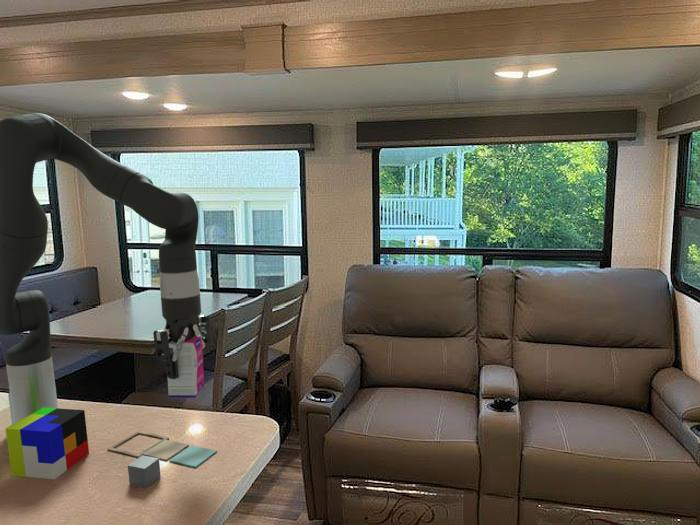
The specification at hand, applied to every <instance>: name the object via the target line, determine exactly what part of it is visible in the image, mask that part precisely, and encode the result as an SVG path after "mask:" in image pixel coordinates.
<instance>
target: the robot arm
mask: <svg viewBox="0 0 700 525" xmlns="http://www.w3.org/2000/svg"><path fill="white" fill-rule="evenodd" d="M51 159H53V160H57V161H60V162H62V163H66V164H68V165H70V166H72V167H74V168H75V169H77V170H78V171H79V172H81V173H82V175H83V176H84V177H85V179H86V180H87V181H88V183H90V184H91V186H92V187H93V188H95V190H97V191H98V192H99V193H101V194H102V195H104V196H105V197H108V198H109V199H111V200H113V201H115V202H116V203H120V204H121V205H123V206H124V207H128V208H130V209H131V210H133V212H135V213H136V214H137V215H139V216H140V217H142V218H143V219H144V220H145V221H147V222H148V223H150V224H151V225H153V226H155V227H157V228H160V229H163V230H165V232H164V233H165V234H164V241H163V242H162V243H161V244H160V245H159V248H158V263H159V289H160V290H159V292H160V302H161V303H160V305H161V316H162V317H163V319H165V326H164V328H163V329H160V330H158V329H155V330H154V331H153V332H152V333H153V341H154V342H153V343H154V349H155V359H156V360H158V361H163V362H165V373H166V377H167V376H168V378H170V379H177V378H178V377H179V374H178V361H177V357H178V353H179V351H180V350H181V349H182V347H183V343H184V341H186V340H189V339H192V338H194V337H197V338H198V337H201V339H202V352H203V366H204V363H205V355H204V354H205V352H204V349H205V347H206V344H209V343H210V342H211V326H210V325H211V324H210V323H211V321H210V316H209V315H205V314H201V313H202V303H201V302H202V301H201V291H200V290H201V289H200V287H201V286H200V279H199V274H198V263H197V254H196V253H197V252H196V244H197V239H198V238H197V237H198V229H199V209H198V205H197V203H196V201H195V199H194V197H192V196H191V195H190V194H188V193H186V192H182V191H181V192H180V191H178V192H177V191H176V192H175V191H174V192H169V191H167V190H165V189H162V188H161V187H158V186H157V185H155V184H154V183H153V181H152V179H151V178H149V177H148V176H147V175H145V174H143V173H141V172H139V171H137V170H135V169H133V168H131V167H128V166H127V165H125V164H123V163H121V162H120V161H117V160H115V159H113V158H112V157H110V156H109V155H106V154H105V153H103V152H102V151H100V150H99V149H98V148H95V147H94V146H93V145H91V144H90V143H88V142H87V141H86V140H84V139H83V138H81V137H80V136H79V135H77V134H75V132H73V131H71V129H69V128H68V127H66V126H65V125H64V124H62V123H61V122H59V121H58V120H56V119H54V118H53V117H51V116H49V115H48V114H46V113H45V114H44V113H42V112H29V113H24V114H19V115H14V116H8V117H5V118H3V119H1V120H0V335H1V336H10V335H11V336H12V335H18V334H21V333H27V332H29V333H28V334H27V336H26V337H25V338H23V339H22V340H21V341H20V342H18V343H16V344H14V345H13V346H11V347H9V348H8V349H7V350H6V351H5V355H4V358H5V360H4V361H5V365H6V373H7V381H8V388H9V392H8V395H7V396H8V397H7V398H8V402H9V403H8V404H9V409H10V410H9V411H10V418H11V419H10V420H11V425H13V424H15V423H16V422H18V421H20V420H22V419H24V418H25V417H27V416H29V415H31V414H33V413H35V412H36V411H38V410H40V409H42V408H44V407H45V408H59V407H58V398H57V395H58V394H57V387H56V381H55V380H56V379H55V372H54V364H53V357H52V356H53V355H52V337H51V336H52V335H51V320H50V319H51V317H50V310H49V309H50V308H49V302H48V299H47V297H46V295H45V294H44V292H43V291H41V290H37V289H33V290H26V291H20V292H19V291H18V289H19V286H20V284H21V282H22V281H23V279H24V278H25V277H26V276H27V275H28V274H29V272H30V271H31V270H32V269H33V268H35V266H36V264H37V263H38V262H39V260H40V259H41V258H42V256H43V254H44V253H45V251H46V248H47V243H48V232H49V231H48V228H49V227H48V226H49V222H48V217H47V214H46V212H45V211H44V209H43V206H42V205H41V204H40V202H39V201H38V199H37V197H36V195H35V193H34V185H33V184H34V171H35V167H36V164H37V163H41V162H44V161H47V160H51ZM17 291H18V292H17ZM203 333H204V334H203ZM172 341H173V342H176V343H177V344H176V345H173V344H169V342H172ZM170 349H173V353H172V355H170ZM168 378H167V379H168Z"/></svg>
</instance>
